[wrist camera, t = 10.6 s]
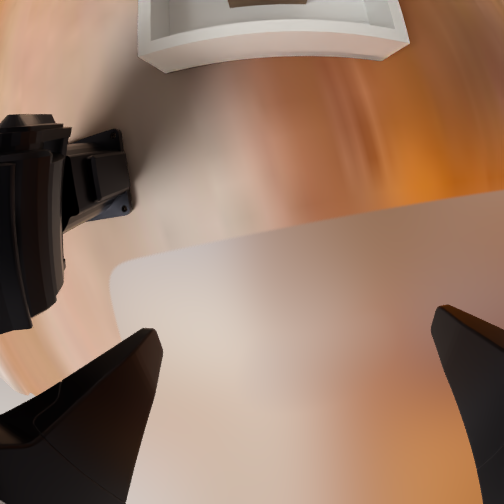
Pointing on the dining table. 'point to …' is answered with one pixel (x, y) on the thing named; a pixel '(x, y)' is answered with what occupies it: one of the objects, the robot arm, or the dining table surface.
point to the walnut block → (262, 2)
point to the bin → (266, 31)
